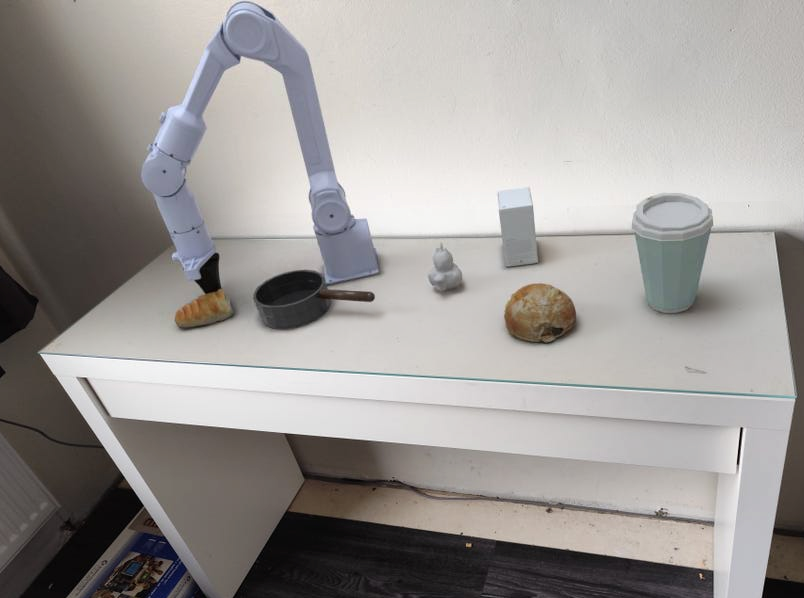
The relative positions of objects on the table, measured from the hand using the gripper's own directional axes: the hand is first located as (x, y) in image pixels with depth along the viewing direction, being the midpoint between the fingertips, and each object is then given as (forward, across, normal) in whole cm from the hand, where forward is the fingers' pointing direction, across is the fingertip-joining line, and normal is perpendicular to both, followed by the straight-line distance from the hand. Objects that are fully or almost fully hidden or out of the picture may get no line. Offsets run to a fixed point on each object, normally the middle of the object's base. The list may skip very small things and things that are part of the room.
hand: (216, 297), depth 117 cm
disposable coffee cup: (+1, +30, +69) cm, 75 cm away
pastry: (+1, +5, -1) cm, 5 cm away
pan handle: (-2, +14, +23) cm, 27 cm away
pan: (+1, +8, +14) cm, 16 cm away
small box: (+1, +6, +53) cm, 53 cm away
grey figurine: (+1, +12, +39) cm, 41 cm away
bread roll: (+1, +28, +50) cm, 58 cm away
